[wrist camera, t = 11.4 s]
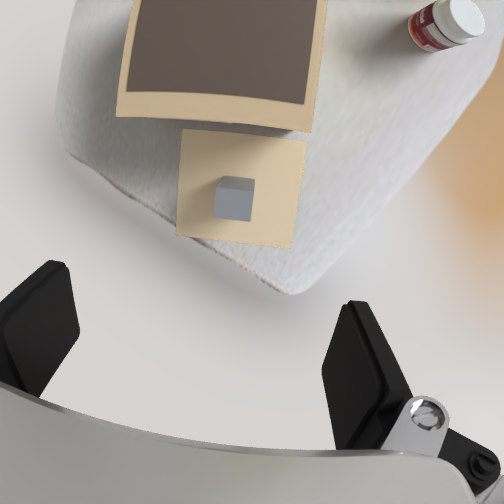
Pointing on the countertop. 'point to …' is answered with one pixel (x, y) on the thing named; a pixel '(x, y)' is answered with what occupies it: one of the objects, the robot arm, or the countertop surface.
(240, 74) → the carton
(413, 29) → the pill bottle
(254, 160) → the flap
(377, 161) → the countertop surface
